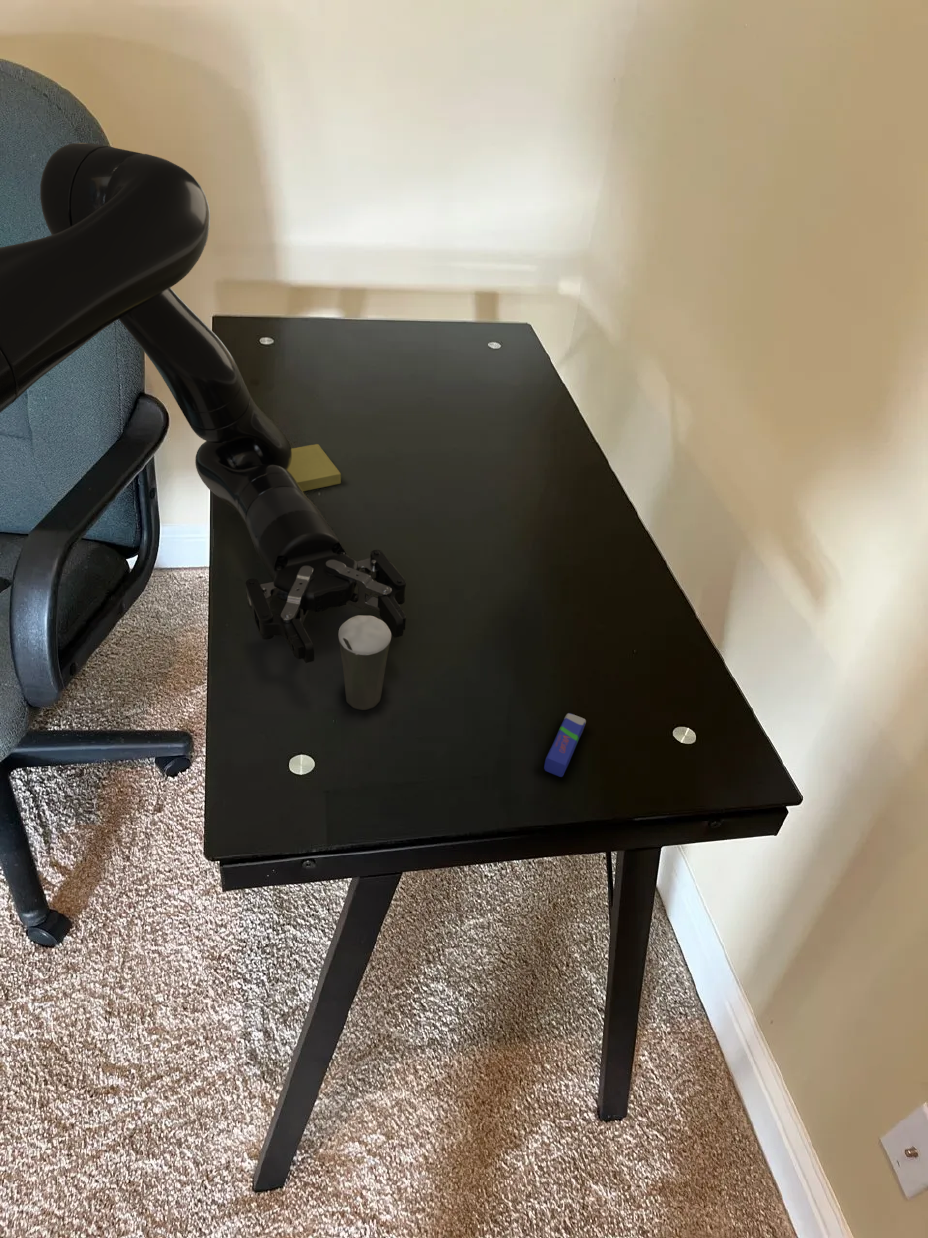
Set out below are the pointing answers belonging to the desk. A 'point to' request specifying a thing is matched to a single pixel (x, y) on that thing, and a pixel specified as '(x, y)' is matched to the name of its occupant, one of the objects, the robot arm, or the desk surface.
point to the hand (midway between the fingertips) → (356, 642)
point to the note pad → (313, 468)
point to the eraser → (564, 744)
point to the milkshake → (364, 659)
